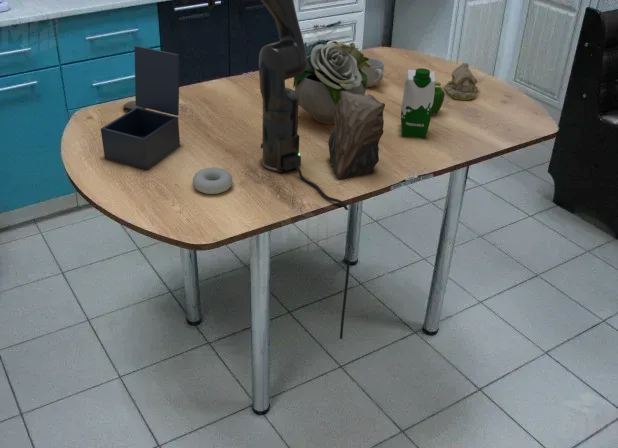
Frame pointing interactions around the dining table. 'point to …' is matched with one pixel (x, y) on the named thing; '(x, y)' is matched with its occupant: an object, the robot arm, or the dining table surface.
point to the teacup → (373, 72)
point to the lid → (157, 80)
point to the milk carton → (417, 102)
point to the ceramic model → (462, 83)
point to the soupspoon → (131, 105)
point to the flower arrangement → (330, 77)
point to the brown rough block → (355, 135)
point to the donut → (206, 177)
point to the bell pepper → (437, 99)
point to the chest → (140, 138)
